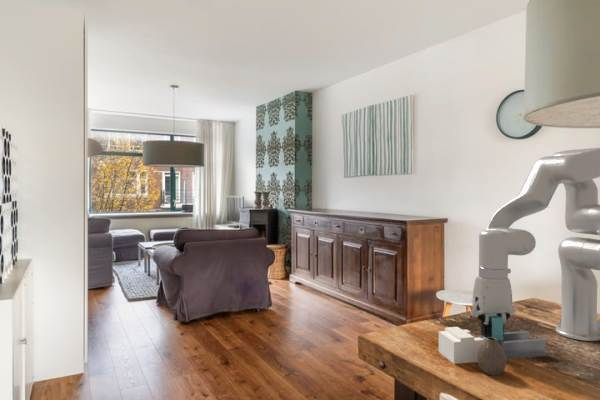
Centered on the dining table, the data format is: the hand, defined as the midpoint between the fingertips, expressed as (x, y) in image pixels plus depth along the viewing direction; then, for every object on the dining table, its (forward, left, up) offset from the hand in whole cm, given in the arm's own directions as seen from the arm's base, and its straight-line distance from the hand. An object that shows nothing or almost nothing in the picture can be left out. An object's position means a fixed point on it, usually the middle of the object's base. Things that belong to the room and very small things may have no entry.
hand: (492, 335), depth 116 cm
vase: (+7, +10, -5) cm, 14 cm away
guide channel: (-7, 0, -5) cm, 9 cm away
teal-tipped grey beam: (+5, 0, -4) cm, 6 cm away
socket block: (+9, 0, -5) cm, 10 cm away
